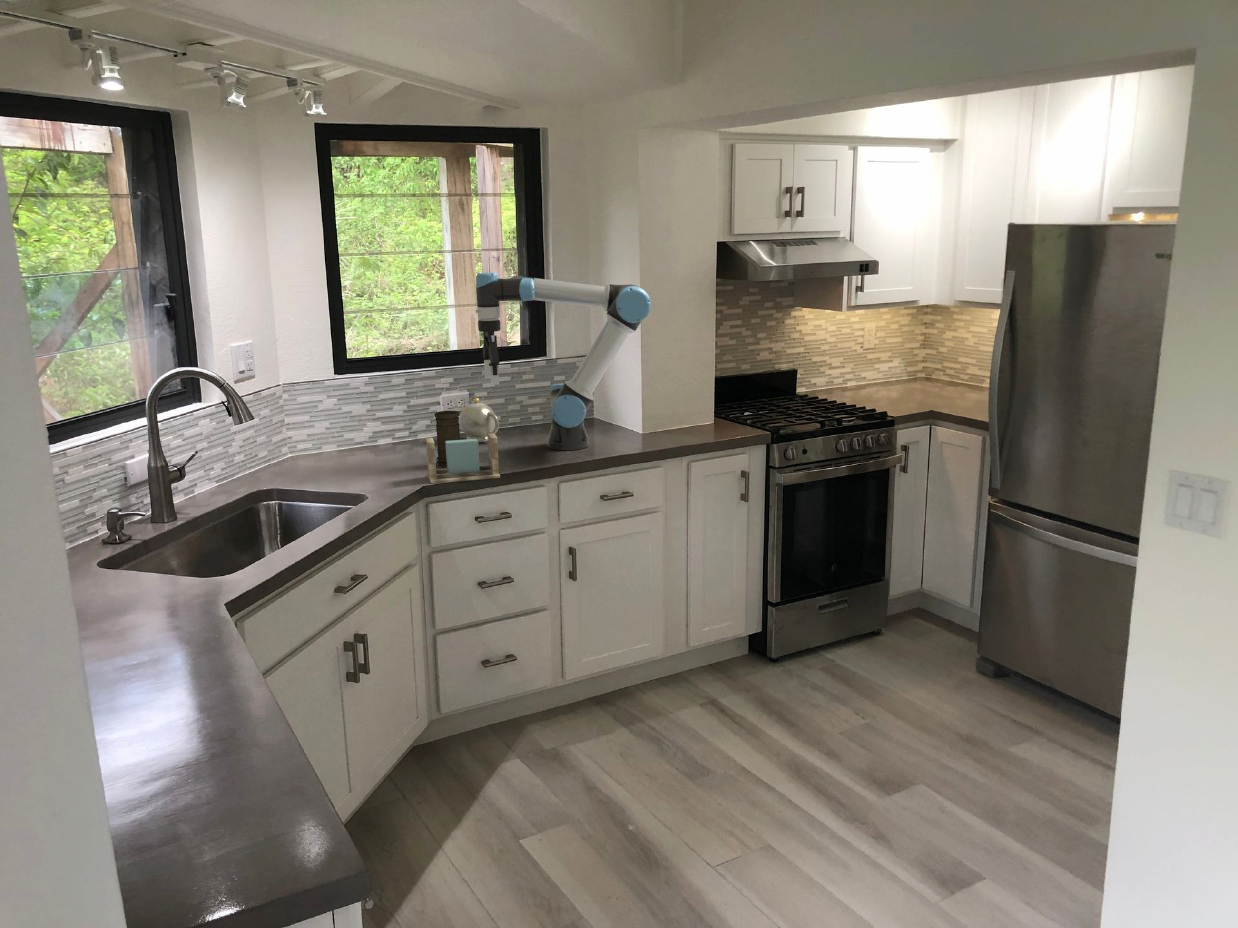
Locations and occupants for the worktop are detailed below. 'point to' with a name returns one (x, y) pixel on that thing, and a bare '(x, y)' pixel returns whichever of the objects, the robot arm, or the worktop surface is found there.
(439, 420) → the container
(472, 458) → the door panel
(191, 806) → the worktop surface
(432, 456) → the wooden rack
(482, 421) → the teapot
